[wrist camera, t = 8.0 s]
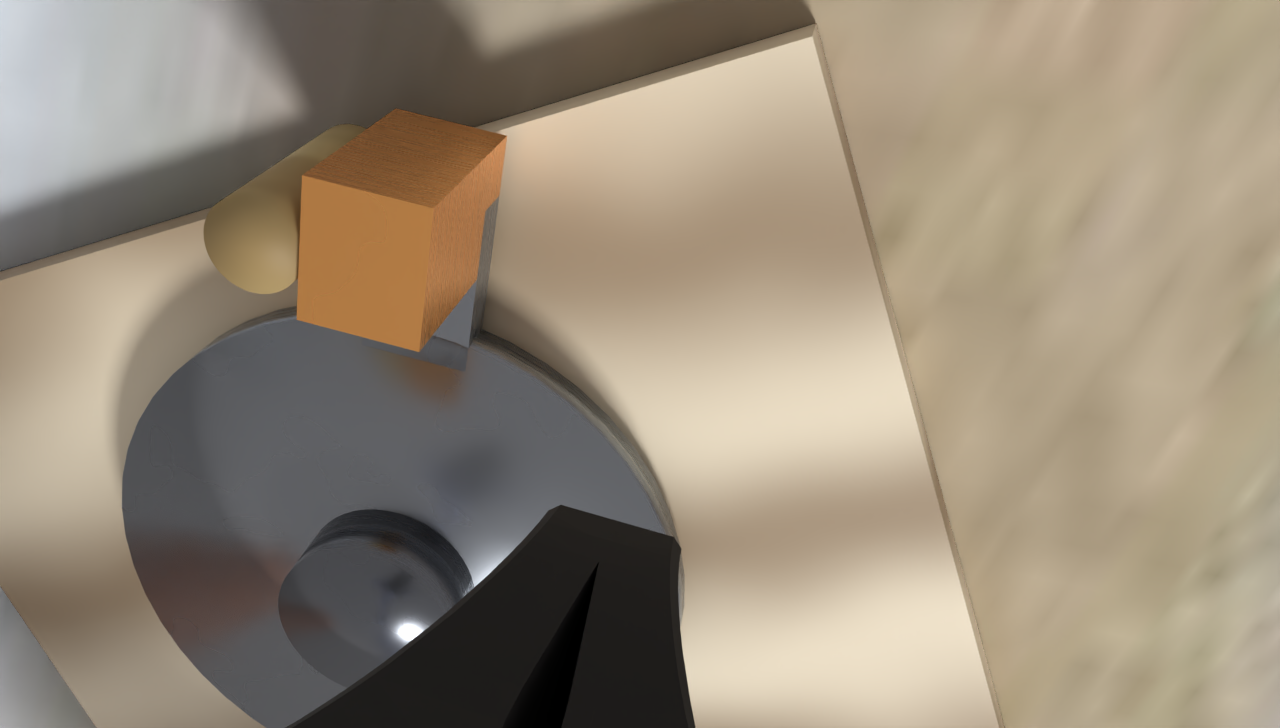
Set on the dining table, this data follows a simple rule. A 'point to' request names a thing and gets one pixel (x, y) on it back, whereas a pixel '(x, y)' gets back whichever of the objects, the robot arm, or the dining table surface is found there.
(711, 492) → the board
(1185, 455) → the dining table surface
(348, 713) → the robot arm
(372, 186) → the flange plate
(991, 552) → the dining table surface
